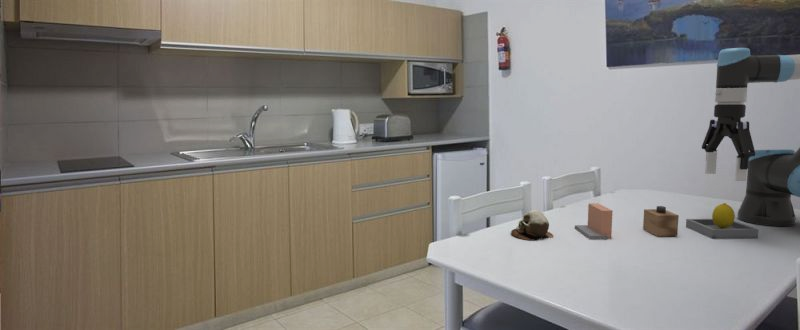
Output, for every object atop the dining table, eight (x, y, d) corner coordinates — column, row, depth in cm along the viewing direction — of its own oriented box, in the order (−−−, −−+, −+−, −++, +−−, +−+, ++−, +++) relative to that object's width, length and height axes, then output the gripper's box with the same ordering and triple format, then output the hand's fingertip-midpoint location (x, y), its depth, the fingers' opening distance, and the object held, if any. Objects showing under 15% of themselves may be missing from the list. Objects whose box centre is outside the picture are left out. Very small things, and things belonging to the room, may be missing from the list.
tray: (727, 226, 156) (728, 218, 156) (757, 238, 143) (758, 229, 143) (685, 226, 156) (686, 218, 156) (712, 238, 143) (712, 229, 143)
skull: (499, 230, 150) (518, 202, 152) (520, 249, 154) (537, 222, 156) (527, 238, 139) (546, 208, 142) (548, 259, 144) (566, 229, 146)
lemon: (736, 232, 146) (739, 205, 145) (715, 231, 147) (718, 205, 146) (728, 227, 151) (730, 201, 150) (708, 226, 152) (710, 200, 151)
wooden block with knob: (662, 228, 153) (664, 204, 152) (677, 235, 145) (679, 209, 144) (643, 228, 153) (644, 204, 152) (656, 235, 145) (658, 210, 144)
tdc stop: (595, 228, 155) (597, 202, 154) (612, 239, 143) (614, 211, 142) (574, 228, 155) (575, 202, 154) (589, 239, 143) (591, 211, 142)
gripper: (691, 103, 157) (687, 171, 160) (746, 104, 132) (740, 184, 135) (716, 103, 157) (711, 170, 160) (775, 104, 132) (768, 184, 135)
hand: (724, 177), depth 147 cm, fingers open, 13 cm apart
